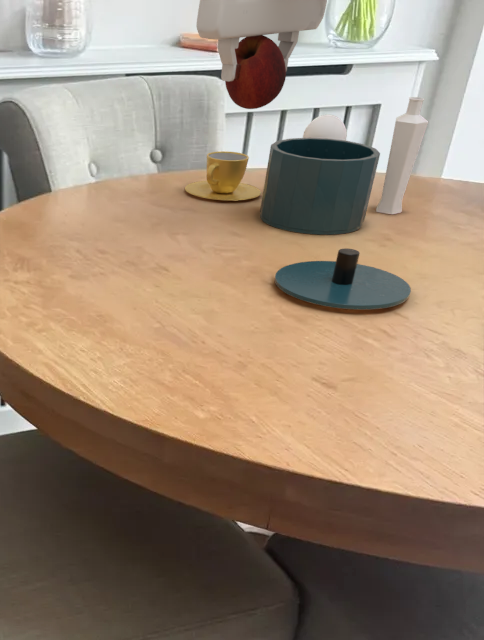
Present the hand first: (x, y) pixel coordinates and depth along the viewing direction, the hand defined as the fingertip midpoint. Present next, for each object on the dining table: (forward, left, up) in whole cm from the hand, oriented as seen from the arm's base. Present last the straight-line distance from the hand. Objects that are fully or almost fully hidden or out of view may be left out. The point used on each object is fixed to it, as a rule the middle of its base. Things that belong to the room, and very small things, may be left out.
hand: (254, 77), depth 110 cm
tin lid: (-23, +7, -18) cm, 31 cm away
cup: (+16, -16, -19) cm, 29 cm away
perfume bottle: (-6, -29, -19) cm, 35 cm away
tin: (-2, -15, -19) cm, 24 cm away
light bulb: (+8, -29, -19) cm, 35 cm away
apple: (0, 0, -4) cm, 4 cm away
